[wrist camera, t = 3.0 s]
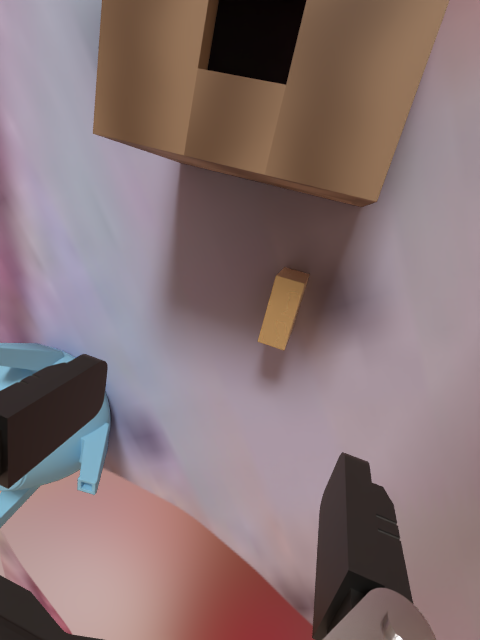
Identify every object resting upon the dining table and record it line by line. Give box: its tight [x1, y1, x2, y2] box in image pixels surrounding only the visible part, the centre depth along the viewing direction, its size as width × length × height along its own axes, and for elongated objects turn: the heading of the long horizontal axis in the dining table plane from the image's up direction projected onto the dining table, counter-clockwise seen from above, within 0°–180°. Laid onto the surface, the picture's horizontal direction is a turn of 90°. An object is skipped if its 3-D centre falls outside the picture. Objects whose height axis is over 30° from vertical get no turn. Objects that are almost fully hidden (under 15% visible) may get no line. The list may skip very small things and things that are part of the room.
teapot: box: [0, 343, 111, 528], centre depth 32 cm, size 15×15×11 cm
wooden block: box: [258, 267, 310, 350], centre depth 25 cm, size 2×5×4 cm, turn 165°
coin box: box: [93, 0, 449, 207], centre depth 18 cm, size 14×14×10 cm
